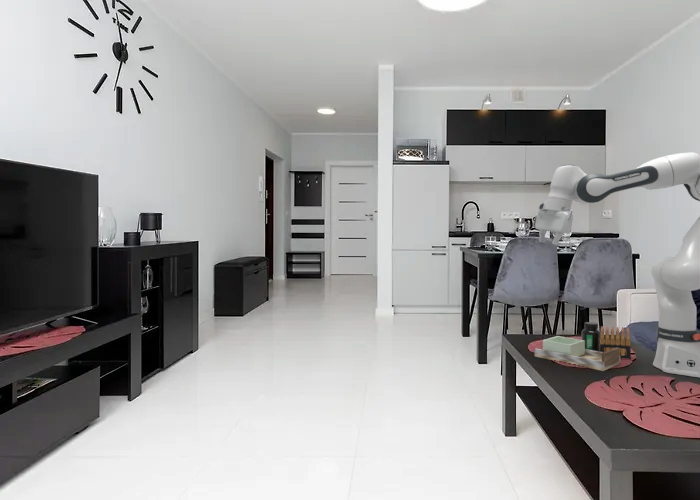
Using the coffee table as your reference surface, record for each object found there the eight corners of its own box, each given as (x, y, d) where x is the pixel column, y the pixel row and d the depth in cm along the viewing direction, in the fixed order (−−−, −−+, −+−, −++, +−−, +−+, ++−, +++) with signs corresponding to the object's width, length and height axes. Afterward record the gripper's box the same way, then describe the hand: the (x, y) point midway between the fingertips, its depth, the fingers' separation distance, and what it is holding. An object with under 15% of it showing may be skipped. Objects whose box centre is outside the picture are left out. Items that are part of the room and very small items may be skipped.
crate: (584, 353, 185) (584, 340, 185) (570, 359, 178) (570, 345, 178) (557, 348, 194) (557, 335, 194) (542, 353, 187) (542, 340, 187)
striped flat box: (620, 363, 177) (620, 347, 176) (603, 370, 168) (603, 353, 168) (553, 350, 197) (553, 335, 197) (534, 356, 188) (534, 341, 188)
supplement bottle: (591, 356, 187) (592, 325, 187) (577, 352, 194) (577, 322, 193) (604, 354, 190) (604, 324, 189) (590, 350, 196) (590, 321, 196)
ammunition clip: (630, 358, 184) (630, 327, 183) (631, 359, 182) (631, 327, 182) (598, 355, 187) (599, 325, 187) (599, 357, 186) (599, 326, 185)
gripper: (581, 209, 171) (570, 247, 172) (551, 208, 191) (542, 242, 192) (564, 205, 170) (554, 243, 171) (536, 205, 190) (527, 239, 191)
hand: (547, 243), depth 182 cm, fingers open, 8 cm apart
